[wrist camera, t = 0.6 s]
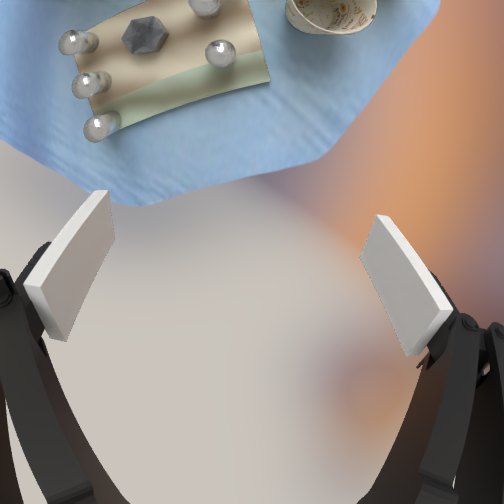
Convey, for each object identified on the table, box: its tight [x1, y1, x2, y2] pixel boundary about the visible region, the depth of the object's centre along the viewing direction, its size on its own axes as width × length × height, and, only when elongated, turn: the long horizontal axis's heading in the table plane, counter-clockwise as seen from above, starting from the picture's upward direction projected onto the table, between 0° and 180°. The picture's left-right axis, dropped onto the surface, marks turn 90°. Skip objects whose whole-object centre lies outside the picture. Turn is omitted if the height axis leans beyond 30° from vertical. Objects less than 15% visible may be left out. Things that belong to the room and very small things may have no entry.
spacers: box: [59, 0, 236, 143], centre depth 24 cm, size 15×22×5 cm
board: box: [74, 0, 271, 131], centre depth 27 cm, size 15×22×1 cm
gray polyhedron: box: [121, 16, 169, 55], centre depth 24 cm, size 5×4×2 cm
